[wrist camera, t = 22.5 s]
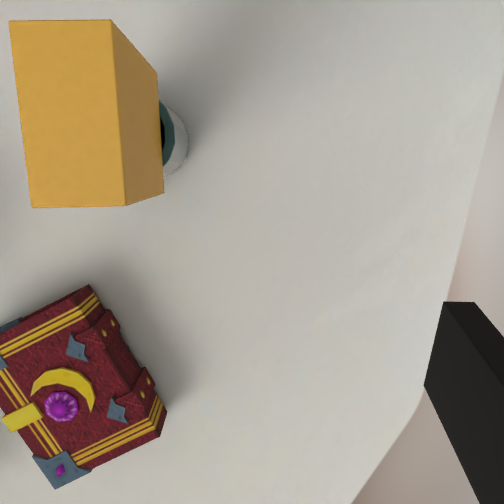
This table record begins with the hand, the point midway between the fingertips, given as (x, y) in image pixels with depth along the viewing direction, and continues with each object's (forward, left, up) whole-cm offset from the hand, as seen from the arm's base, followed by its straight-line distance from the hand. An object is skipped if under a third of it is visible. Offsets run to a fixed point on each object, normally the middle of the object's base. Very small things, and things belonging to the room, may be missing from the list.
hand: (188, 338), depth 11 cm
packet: (+6, -7, -19) cm, 21 cm away
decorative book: (+14, +15, -27) cm, 34 cm away
